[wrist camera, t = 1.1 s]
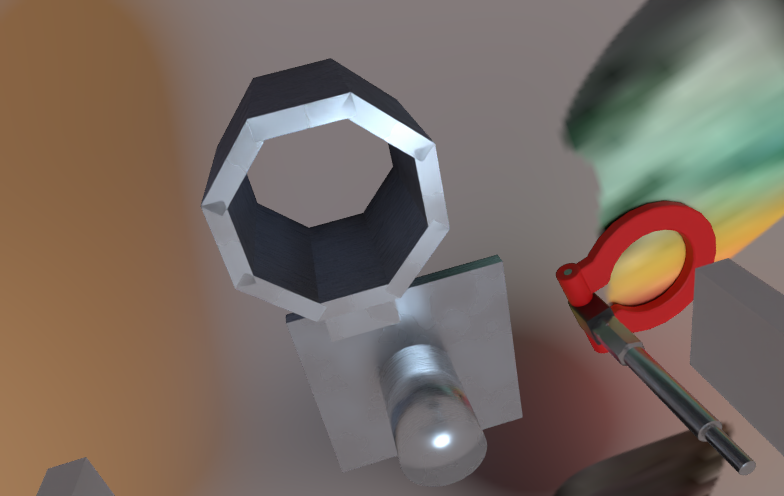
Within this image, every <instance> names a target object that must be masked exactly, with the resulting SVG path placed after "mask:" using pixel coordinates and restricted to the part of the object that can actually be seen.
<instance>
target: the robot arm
mask: <svg viewBox="0 0 784 496" xmlns="http://www.w3.org/2000/svg"><path fill="white" fill-rule="evenodd" d="M690 365H691V366H692V367H693V368H694V369H695V370H696V371H697V372H698V373H699V374H700V375H701V376H702V377H703V378H704V379H706V380H707V381H708V382H709V383H710V384H711V385H712V386H713V387H714V388H715V389H716V390H717V391H718V392H719V393H720V394H721V395H722V396H723V397H724V398H725V399H726V400H727V401H728V402H729V403H730V404H731V405H732V406H733V407H734V408H735V409H736V410H737V411H738V412H739V413H740V414H741V415H742V416H743V417H745V419H746V420H747V421H748V422H749V423H750V424H752V426H754V428H756V429H757V430H758V431H759V432H760V433H761V434H762V435H763V436H764V437H765V438H766V439H767V440H768V441H769V442H770V443H771V444H772V445H773V446H774V447H775V448H776V449H777V450H778V451H779V452H780V453H781V454H782V455H783V456H784V295H783V294H781V293H780V292H779V291H777V290H775V289H774V288H772V287H771V286H769V285H768V284H766V283H765V282H763V281H762V280H761V279H759V278H757V277H756V276H754V275H753V274H751V273H750V272H748V271H747V270H745V269H744V268H742V267H741V266H739V265H738V264H736V263H735V262H733V261H732V260H730V259H729V258H727V259H724V260H721V261H718V262H714V263H711V264H708V265H705V266H701V267H698V268H695V282H694V299H693V317H692V336H691V352H690ZM36 496H115V495H114V494H113V493H112V491H111V490H110V489H109V487H108V486H107V484H106V483H105V482H104V481H103V479H102V478H101V476H100V475H99V474H98V472H97V471H96V470H95V468H94V467H93V466H92V464H91V463H90V462H89V460H88V459H87V458H86V457H85V458H81V459H78V460H75V461H72V462H69V463H66V464H62V465H59V466H56V467H53V468H49V469H48V470H47V472H46V475H45V477H44V479H43V482H42V484H41V486H40V488H39V491H38V493H37V495H36Z"/></svg>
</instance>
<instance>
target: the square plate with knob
mask: <svg viewBox="0 0 784 496" xmlns="http://www.w3.org/2000/svg"><path fill="white" fill-rule="evenodd" d="M395 302H396V306H397V310H398V314H399V318H400V323H396V324H393V325H389V326H386V327H382V328H379V329H375V330H372V331H369V332H365V333H362V334H358V335H355V336H351V337H348V338H344V339H341V340H338V341H334V342H332V340H331V337H330V334H329V331H328V328H327V325H326V322H325V320H323V321H319V322H315V321H313V320H310V319H308V318H306V317H303V316H301V315H298V314H296V313H291V314H287V315H286V324H287V327H288V330H289V332H290V335H291V337H292V340H293V343H294V345H295V348H296V351H297V353H298V356H299V359H300V361H301V364H302V367H303V369H304V372H305V375H306V377H307V380H308V382H309V385H310V388H311V390H312V393H313V396H314V398H315V401H316V404H317V406H318V409H319V412H320V414H321V417H322V419H323V422H324V425H325V427H326V430H327V433H328V435H329V438H330V440H331V443H332V446H333V449H334V451H335V454H336V456H337V459H338V462H339V464H340V467H341V469H342V472H346V471H349V470H352V469H355V468H359V467H362V466H365V465H368V464H372V463H375V462H378V461H382V460H384V459H388V458H391V457H395V456H398V457H399V462H400V465H401V469H402V471H403V473H404V475H405V476H406V477H407V478H408V479H409V480H411V481H412V482H414V483H416V484H419V485H423V486H432V487H434V486H435V487H436V486H443V485H448V484H452V483H454V482H457V481H459V480H461V479H463V478H465V477H466V476H468V475H469V474H471V473H472V472H473V471H474V470H475V469H476V468H477V467H478V466H479V465H480V464H481V462H482V461H483V459H484V457H485V454H486V451H487V442H486V438H485V436H484V433H483V431H482V430H483V429H486V428H489V427H492V426H496V425H499V424H502V423H506V422H509V421H512V420H515V419H519V418H522V409H521V402H520V395H519V386H518V379H517V370H516V363H515V354H514V347H513V340H512V331H511V323H510V315H509V307H508V299H507V292H506V284H505V276H504V269H503V261H502V260H501V259H500V257H499V256H498V255H494V256H491V257H488V258H484V259H480V260H477V261H474V262H470V263H466V264H463V265H459V266H456V267H452V268H449V269H445V270H442V271H438V272H435V273H432V274H428V275H424V276H421V277H417V278H415V279H414V280H413V282H412V283H411V284H410V286H409V287H408V289H407V290H406V292H405V293H404V294H403V296H402V297H401V298H399V299H396V300H395Z"/></svg>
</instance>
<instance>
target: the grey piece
mask: <svg viewBox="0 0 784 496" xmlns="http://www.w3.org/2000/svg"><path fill="white" fill-rule="evenodd" d="M346 118H347V119H349V120H351V121H352V122H354V123H356V124H358V125H359V126H361V127H363V128H365V129H366V130H368V131H369V132H371V133H373V134H375V135H376V136H379V137H380V138H381V139H383V140H385V141H386V142H388V145H389V149H390V154H391V158H392V163H393V168H392V169H391V171H390V172H389V174H388V175H387V177H386V178H385V180H384V182H383V183H382V185H381V186H380V188H379V189H378V191H377V192H376V194H375V196H374V197H373V199H372V200H371V202H370V203H369V205H368V206H367V208H366V210H365V211H364V213H362V214H358V215H354V216H350V217H347V218H343V219H340V220H336V221H332V222H329V223H325V224H322V225H318V226H314V227H310V228H308V227H306V226H304V225H302V224H300V223H298V222H296V221H294V220H292V219H289V218H287V217H285V216H283V215H281V214H279V213H277V212H275V211H273V210H271V209H269V208H266V207H264V206H262V205H260V204H258V203H257V201H256V198H255V195H254V193H253V190H252V187H251V184H250V181H249V179H248V176H247V172H248V170H249V168H250V166H251V164H252V162H253V161H254V159H255V157H256V155H257V153H258V152H259V150H260V148H261V146H262V144H263V143H264V141H265V140H266V139H270V138H274V137H278V136H282V135H285V134H289V133H293V132H297V131H301V130H304V129H308V128H312V127H316V126H320V125H324V124H327V123H331V122H335V121H339V120H343V119H346ZM201 208H202V211H203V213H204V215H205V218H206V220H207V222H208V225H209V227H210V230H211V232H212V234H213V237H214V239H215V242H216V244H217V246H218V249H219V251H220V253H221V256H222V258H223V261H224V263H225V265H226V268H227V270H228V272H229V275H230V277H231V280H232V282H233V285H234V287H235V289H237V290H239V291H242V292H244V293H247V294H249V295H252V296H254V297H257V298H259V299H261V300H264V301H266V302H269V303H271V304H274V305H276V306H279V307H281V308H283V309H286V310H288V311H291V312H293V313H296V314H298V315H301V316H303V317H306V318H308V319H310V320H313V321H315V322H319V321H323V320H325V322H326V325H327V328H328V331H329V334H330V337H331V340H332V342H334V341H338V340H341V339H344V338H348V337H351V336H355V335H358V334H362V333H365V332H369V331H372V330H375V329H379V328H382V327H386V326H389V325H393V324H396V323H400V318H399V314H398V310H397V306H396V302H395V300H396V299H399V298H401V297H402V296H403V294H404V293H405V292H406V290H407V289H408V287H409V286H410V284H411V283H412V282H413V280H414V279H415V277H416V276H417V275H418V273H419V271H420V270H421V269H422V267H423V266H424V265H425V263H426V262H427V260H428V259H429V258H430V256H431V255H432V253H433V252H434V251H435V249H436V248H437V246H438V245H439V243H440V242H441V240H442V239H443V238H444V236H445V235H446V234H447V232H448V231H449V229H450V227H449V221H448V216H447V210H446V204H445V198H444V193H443V187H442V181H441V176H440V170H439V165H438V159H437V153H436V148H435V143H434V142H433V141H432V140H431V138H430V137H429V136H428V135H427V134H426V133H425V132H424V131H423V129H422V128H421V127H420V126H419V125H418V124H417V122H416V121H415V120H414V119H413V118H412V117H411V116H410V114H409V113H408V112H407V111H406V110H405V109H404V108H403V106H402V105H401V104H400V103H399V102H398V101H397V100H396V99H395V98H393V97H392V96H390V95H389V94H387V93H385V92H383V91H382V90H381V89H379V88H377V87H376V86H374V85H372V84H371V83H369V82H368V81H366V80H365V79H363V78H361V77H360V76H358V75H356V74H355V73H353V72H352V71H350V70H349V69H347V68H345V67H344V66H342V65H340V64H339V63H338V62H336V61H334V60H333V59H326V60H323V61H318V62H314V63H311V64H307V65H303V66H299V67H295V68H291V69H287V70H283V71H279V72H276V73H271V74H267V75H263V76H260V77H256V78H253V80H252V82H251V83H250V85H249V87H248V89H247V91H246V93H245V95H244V97H243V99H242V100H241V102H240V104H239V106H238V108H237V110H236V112H235V114H234V116H233V118H232V119H231V121H230V123H229V125H228V127H227V129H226V131H225V133H224V135H223V137H222V139H221V141H220V143H219V144H218V146H217V150H216V153H215V157H214V160H213V164H212V167H211V171H210V175H209V178H208V182H207V185H206V189H205V192H204V196H203V199H202V203H201Z"/></svg>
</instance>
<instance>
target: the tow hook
mask: <svg viewBox="0 0 784 496" xmlns="http://www.w3.org/2000/svg"><path fill="white" fill-rule="evenodd" d="M659 230H674V231H677V232H678V233H679V234H680V235H681V236H682V237H683V239H684V242H685V244H686V259H685V264H684V267H683V269H682V271H681V274H680V276H679V277H678V278H677V280H676V281H675V283H674V284H673V285H672V286H671V287H670V288H669V289H668V290H667V291H666V292H665V293H664V294H663V295H661V296H660V297H658V298H657V299H655V300H654V301H651V302H649V303H647V304H645V305H640V306H635V307H628V306H622V305H619V304H615V305H612V306H611V307H609V306H608V305H607V304H606V303H605V302H604V301H603V300H602V299H600V297H599V296H597V295H596V294H595V293H594V292H595V291H597V290H599V289H600V288H602V287H604V286H605V285H607V284H608V282H609V281H610V277H611V273H612V271H613V268H614V265H615V263H616V262H617V260H618V259H619V257H620V256H621V254H622V253H623V252H624V251H625V250H626V249H627V248H628V247H629V246H630V245H631V244H632V243H633V242H635V241H636V240H638V239H639V238H640V237H642V236H644V235H646V234H649V233H651V232H654V231H659ZM715 254H716V238H715V234H714V232H713V229H712V226H711V224H710V222H709V221H708V220H707V219H706V218H705V217H704V216H703V215H702V213H700V212H698V211H696V210H694V209H693V208H690V207H688V206H686V205H684V204H682V203H679V202H671V201H661V202H655V203H649V204H646V205H643V206H641V207H639V208H636V209H634V210H631V211H629V212H628V213H626V214H625V215H624V216H622V217H621V218H619V219H618V220H616V221H615V222H614V223H612V224H611V226H610V227H609V228H608V229H607V230H606V231H605V232H604V233H603V234H602V235H601V236H600V237H599V238H598V240H597V241H596V243H595V244H594V246H593V248H592V249H591V251H590V252H589V254H588V256H587V257H586V258H584V259H583V260H581V261H580V262H578V263H577V264H575V263H569V264H565V265H563V266H561V267H560V268H559V269H558V270H557V272H556V278H557V280H558V281H559V283H560V285H561V287H562V289H563V291H564V293H565V295H566V297H567V299H568V304H569V306H570V308H571V310H572V312H573V314H574V316H575V317H576V319H577V321H578V323H579V325H580V327H581V328H582V329H583V330H584V331H585V333H586V335H587V337H588V339H589V341H590V343H591V345H592V347H593V348H594V350H595V351H596V352H598V353H607V352H610V353H611V355H612V356H613V357H614V358H615V359H616V360H617V361H618V362H619V363H620V364H621V365H625V366H628V367H629V368H630V369H631V370H632V371H633V372H634V373H635V374H636V375H637V376H638V377H639V378H640V379H641V380H642V381H643V382H644V383H645V384H646V385H647V386H648V387H649V388H650V389H651V390H652V391H653V392H654V394H655V395H657V396H658V398H659V399H660V400H661V401H662V402H663V403H664V404H665V405H666V406H667V407H668V408H669V409H670V410H671V411H672V412H673V413H674V414H675V415H676V416H677V417H678V418H679V419H680V420H681V421H682V422H683V423H684V424H685V426H686V427H687V428H688V429H689V430H690V431H691V432H692V433H693V434H694V435H695V436H696V437H697V438H698V439H699V440H700V441H708V442H709V443H710V444H711V445H712V446H713V447H714V448H715V449H716V450H717V451H718V452H719V453H720V455H721V456H722V457H723V458H724V459H725V460H726V461H727V462H728V463H729V464H730V465H731V466H732V467H734V469H735V470H736V471H737V472H738V473H739V474H740V475H748V474H750V473H751V472H752V471H753V470H754V469H755V467H756V463H755V462H754V461H753V460H752V459H751V458H750V457H749V456H748V455H747V454H746V453H745V452H744V451H743V450H742V449H741V448H740V447H739V446H738V445H737V444H736V443H735V442H734V441H733V440H732V439H730V438H729V437H728V436H727V435H726V434H725V433H724V432H723V431H722V430H721V429H722V424H721V422H720V421H719V420H718V419H717V418H716V417H714V416H713V415H712V414H711V413H710V412H709V411H708V410H707V409H706V408H705V407H704V406H703V405H702V404H701V403H700V402H699V401H698V400H697V399H695V398H694V397H693V396H692V395H691V394H690V393H689V392H688V391H687V390H686V389H685V388H684V387H683V386H682V385H681V384H680V383H679V382H678V381H677V380H675V379H674V378H673V377H672V376H671V375H670V374H669V373H668V372H667V371H666V370H665V369H664V368H663V367H662V366H661V365H660V364H659V363H658V362H657V361H655V360H654V359H653V358H652V357H651V356H650V355H649V354H648V353H647V352H646V351H645V348H644V346H643V344H642V342H641V341H640V340H639V339H638V338H637V337H636V336H635V335H634V334H633V333H634V332H639V331H644V330H648V329H651V328H654V327H656V326H658V325H660V324H663V323H665V322H667V321H668V320H669V319H671V318H672V317H674V316H675V315H677V314H678V313H680V312H681V311H682V310H683V309H684V308H685V307H686V306H687V305H688V304H689V303H691V302H692V301H693V299H694V282H695V268H698V267H701V266H705V265H708V264H711V263H714V259H715Z"/></svg>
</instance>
